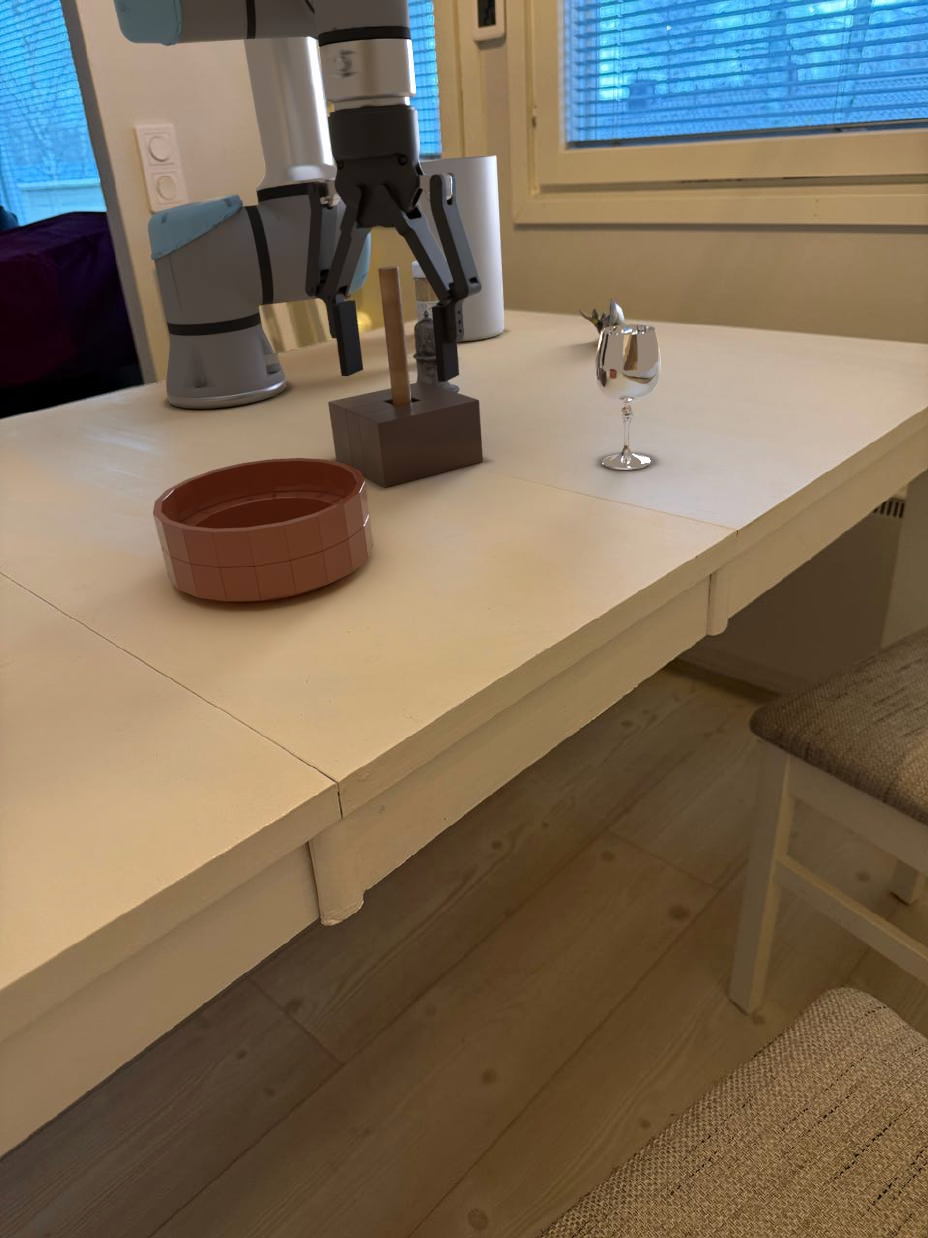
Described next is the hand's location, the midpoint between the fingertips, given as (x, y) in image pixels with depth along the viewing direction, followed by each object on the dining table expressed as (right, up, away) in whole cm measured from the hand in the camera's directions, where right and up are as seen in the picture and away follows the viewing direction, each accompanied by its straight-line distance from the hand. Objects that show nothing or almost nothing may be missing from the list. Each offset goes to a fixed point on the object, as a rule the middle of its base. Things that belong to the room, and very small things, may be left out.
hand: (399, 375), depth 86 cm
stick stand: (+1, -7, +4) cm, 8 cm away
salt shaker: (+3, -1, +16) cm, 16 cm away
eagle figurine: (+27, +16, +45) cm, 55 cm away
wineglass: (+21, -9, -1) cm, 23 cm away
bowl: (-8, -19, -16) cm, 26 cm away
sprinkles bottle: (+2, +13, +43) cm, 45 cm away
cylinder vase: (+6, +22, +59) cm, 63 cm away
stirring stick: (+1, -7, +4) cm, 8 cm away
